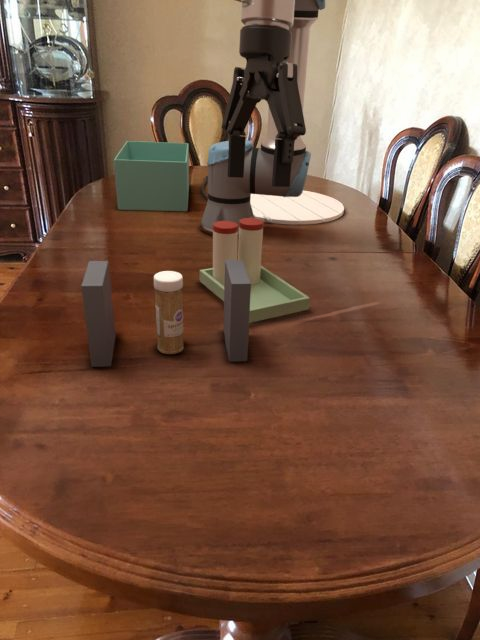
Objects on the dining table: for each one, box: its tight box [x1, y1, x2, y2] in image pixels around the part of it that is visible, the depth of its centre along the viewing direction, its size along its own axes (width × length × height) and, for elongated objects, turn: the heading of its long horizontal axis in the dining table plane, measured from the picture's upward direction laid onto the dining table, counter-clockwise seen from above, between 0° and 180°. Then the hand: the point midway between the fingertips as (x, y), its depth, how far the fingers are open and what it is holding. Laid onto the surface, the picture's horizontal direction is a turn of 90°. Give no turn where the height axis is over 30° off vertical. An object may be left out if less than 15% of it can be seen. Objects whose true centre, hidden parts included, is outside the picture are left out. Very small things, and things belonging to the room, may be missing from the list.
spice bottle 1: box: [212, 221, 239, 286], centre depth 109 cm, size 5×5×13 cm
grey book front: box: [80, 260, 117, 368], centre depth 84 cm, size 3×10×14 cm, turn 9°
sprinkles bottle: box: [153, 270, 185, 355], centre depth 86 cm, size 5×5×14 cm
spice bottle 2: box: [237, 218, 264, 285], centre depth 111 cm, size 5×5×13 cm
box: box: [113, 140, 190, 212], centre depth 169 cm, size 21×32×14 cm, turn 6°
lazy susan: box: [250, 189, 345, 226], centre depth 171 cm, size 40×39×3 cm
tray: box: [199, 265, 311, 324], centre depth 108 cm, size 22×14×3 cm, turn 31°
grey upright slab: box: [223, 259, 251, 363], centre depth 88 cm, size 3×10×14 cm, turn 9°
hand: (256, 181), depth 84 cm, fingers open, 13 cm apart
